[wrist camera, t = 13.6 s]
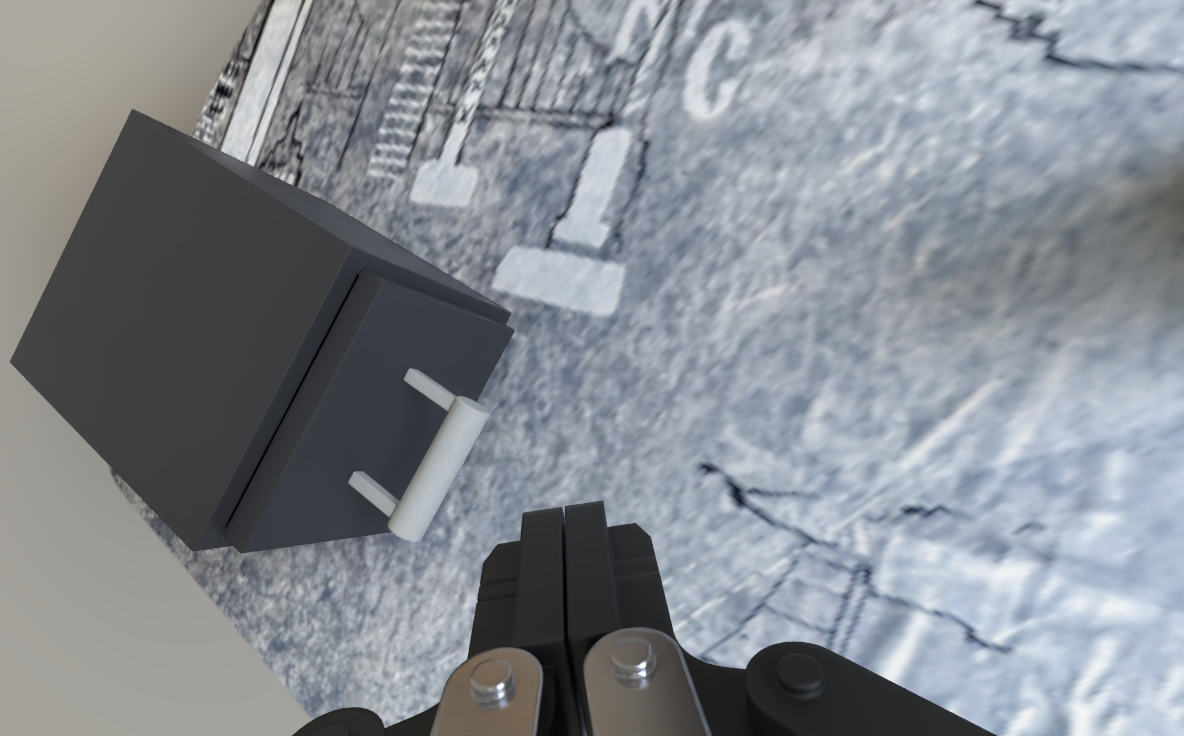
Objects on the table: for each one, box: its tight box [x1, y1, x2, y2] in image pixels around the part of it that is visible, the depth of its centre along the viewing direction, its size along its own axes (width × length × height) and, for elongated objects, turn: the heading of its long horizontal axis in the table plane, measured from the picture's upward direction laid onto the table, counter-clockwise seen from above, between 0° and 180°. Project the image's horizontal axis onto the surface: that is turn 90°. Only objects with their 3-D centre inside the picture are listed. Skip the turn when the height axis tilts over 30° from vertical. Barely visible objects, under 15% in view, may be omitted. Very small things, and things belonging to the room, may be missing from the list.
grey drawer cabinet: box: [10, 109, 511, 551], centre depth 33 cm, size 15×13×12 cm
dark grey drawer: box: [223, 269, 514, 553], centre depth 32 cm, size 18×12×10 cm, turn 59°
